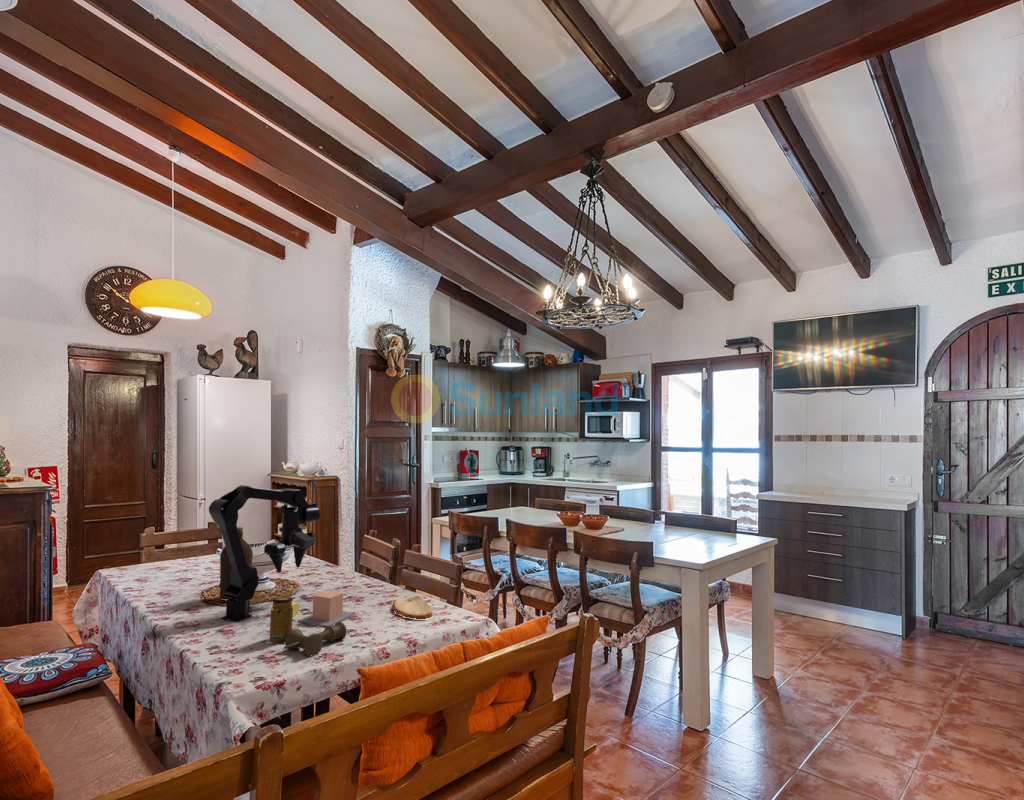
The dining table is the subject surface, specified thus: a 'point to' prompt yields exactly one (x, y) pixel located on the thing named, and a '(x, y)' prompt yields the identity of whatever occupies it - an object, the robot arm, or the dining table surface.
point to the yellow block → (295, 608)
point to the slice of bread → (413, 608)
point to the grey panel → (326, 623)
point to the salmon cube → (327, 605)
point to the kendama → (314, 638)
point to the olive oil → (226, 566)
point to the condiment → (280, 619)
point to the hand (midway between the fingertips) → (288, 569)
